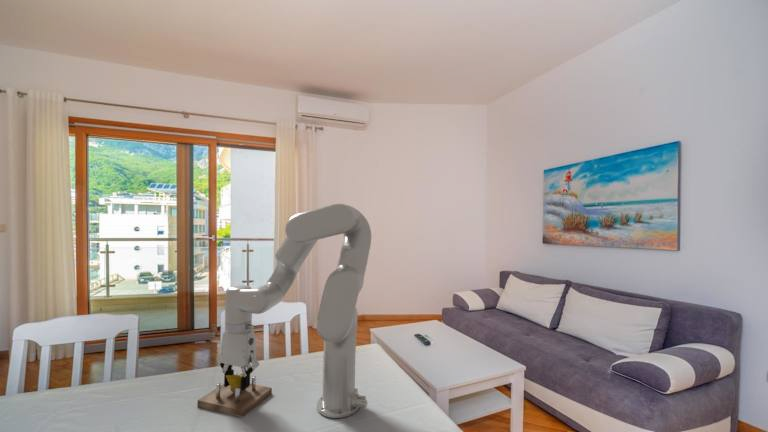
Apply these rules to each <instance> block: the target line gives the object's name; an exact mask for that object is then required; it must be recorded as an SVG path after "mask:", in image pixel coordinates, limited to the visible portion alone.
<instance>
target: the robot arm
mask: <svg viewBox="0 0 768 432" xmlns="http://www.w3.org/2000/svg"><path fill="white" fill-rule="evenodd" d="M371 230H372V229H371V226H370V223H369V221H368V220H367V218H366V217H365V216H364V214H363V213H362V212H360V211H359V210H358V209H356V208H355V207H354V206H351V205H348V204H344V203H334V204H333V203H332V204H330V205H326V206H322V207H319V208H316V209H310V210H307V211H305V212H304V211H303V212H299V213H296V214H293V215H292V216H291V217H290V218H289V219H288V220H287V221H286V224H285V231H284V232H285V235H286V237H285V238H284V240H283V241H282V243H281V244H280V246H279V247H278V249H277V250H276V252H275V254H274V257H275V259H276V266H275V269H274V271H273V272H272V274H271V276H270V277H269V278H268V279H267V282H266V283H265V284H263V285H261V286H258V287H256V288H252V287H251V286H250V285H245V284H244V285H241V284H240V285H239V284H238V285H232V286H230V287H228V288H227V289H226V291H225V300H224V301H225V303H224V304H225V306H224V308H225V309H224V310H225V311H224V331H223V332H222V337H221V343H220V351H219V352H220V354H219V355H218V356H217V357H216V359H215V360H216V361H217V363H218V364H219V365H220V366H219V367H220V368H221V369H222V373H223V374H224V379H223V384H224V387H227V386H229V385H230V384H229V382H228V380H227V378H226V376H225V375H234V373H235V371H234V369H233V367H239V368H240V370H241V374H243V376H242V377H241V390H244V389H246V388H247V387H249V385H250V384H251V374H252V373H253V372H254V371H255V370H256V369H257V368H258V367H259V366H260V361H258V359H257V343H256V342H257V341H256V335H255V334H256V333H255V330H254V328H255V325H254V324H253V323H252V322H253V321H252V319H253V314H255V315H260V314H264V313H266V312H267V311H270V310H271V309H272V308H274V307H276V306H277V305H278V304H279V303H281V301H282V300H283V299H284V297H286V294H287V293H288V292H289V290H290V289H291V287H292V285H293V283H294V282H295V279H296V278H297V275H298V274H299V272H300V269H301V266H302V265H303V263H304V262H305V260H306V259H307V257H308V256H309V255H310V253H311V251H312V250H313V248H314V247H315V245H316V244H317V242H318V241H319V240H323V239H326V238H331V237H335V236H338V235H342V234H343V241H342V245H341V247H340V253H339V258H338V262H337V266H336V268H335V270H333V271H331V273H330V274H329V275H328V277H327V279H326V281H325V284H324V287H323V291H322V296H321V300H320V304H319V308H318V314H317V317H316V331H317V334H318V335H319V337H320V338H321V339H322V340H323V355H322V356H323V363H322V364H323V365H322V366H323V367H322V368H323V369H322V396H321V397H320V398H319V399H318V400H317V402H316V409H317V411H318V413H320V415H322V416H324V417H327V418H331V419H341V418H346V417H349V416H352V415H353V414H355V413H356V412H357V411H358V410H359V408H366V409H367V407H368V400H367V396H366V395H361V394H359V388H356V354H357V351H356V350H357V348H356V347H357V346H356V345H357V329H358V318H359V317H358V311H357V307H356V306H357V302H358V298H359V294H360V292H361V291H362V288H363V287H364V282H365V273H366V271H367V265H368V261H369V255H370V250H371V244H372V231H371Z"/></svg>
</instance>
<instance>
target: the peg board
mask: <svg viewBox="0 0 768 432" xmlns="http://www.w3.org/2000/svg"><path fill="white" fill-rule="evenodd" d="M234 375H239V374H238V372H234ZM256 382H257V377H256V375H254V376H251V383H250V385H249V387H247V388H246V389H244V390H243V391H242V392H240V387H236V388H235V393H233V392H232V391H231V386H230V385H229V386H227V387H224V383H223V384H221V383H220V382H218V383H216V384H215V389H214V390H212V391H209V393H207V394H206V395H203V396H202V397H201V398H199V399H198V400H197V404H196V405H197V407H199V408H203V409H206V410H211V411H216V412H220V413H224V414H228V415H233V416H237V417H241V418H244V417H245V416H246V415H247V414H248V413H249V412H251V411H252V410H253V409H254V408H256V407H257V406H258V405H260V404H261V403H262V402H263V401H265V400H266V399H267V398H268V397H269V396H270V395H272V394H273V393H272V392H273V391H272V387H270V386H264V385H259V384H256Z"/></svg>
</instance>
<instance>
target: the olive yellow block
mask: <svg viewBox="0 0 768 432" xmlns="http://www.w3.org/2000/svg"><path fill="white" fill-rule="evenodd" d="M225 376H226V378H227V380H228V382H229V384H230V386H231V391H232V392H233V393H235V388H236V387H240V392H242V391H243V390H241V377H242V376H243V374H242V373H241V374H238V375H225Z"/></svg>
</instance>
